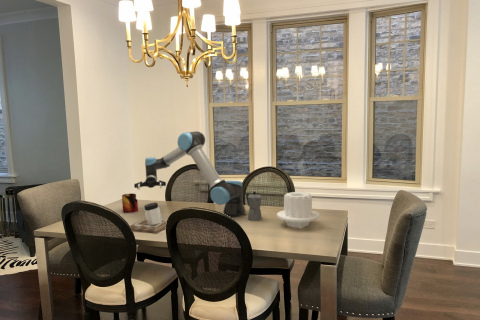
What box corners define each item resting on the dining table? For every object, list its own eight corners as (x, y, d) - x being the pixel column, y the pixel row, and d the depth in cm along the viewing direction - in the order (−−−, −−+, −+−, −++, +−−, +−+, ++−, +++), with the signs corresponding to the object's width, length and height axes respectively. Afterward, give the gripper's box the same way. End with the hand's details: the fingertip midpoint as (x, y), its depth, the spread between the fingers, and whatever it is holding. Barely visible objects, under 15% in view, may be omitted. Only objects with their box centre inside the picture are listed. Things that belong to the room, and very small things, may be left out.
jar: (145, 225, 232) (140, 206, 230) (154, 221, 239) (150, 202, 237) (155, 225, 227) (151, 206, 226) (164, 220, 234) (160, 202, 232)
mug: (137, 213, 266) (136, 196, 264) (120, 212, 269) (119, 196, 268) (144, 210, 275) (143, 193, 274) (127, 209, 279) (126, 193, 277)
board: (175, 222, 240) (175, 218, 240) (157, 233, 220) (156, 228, 219) (145, 220, 247) (145, 216, 247) (124, 230, 227) (124, 226, 227)
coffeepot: (266, 220, 242) (266, 192, 240) (254, 222, 237) (254, 194, 235) (252, 215, 255) (252, 188, 253) (241, 217, 250) (240, 190, 248)
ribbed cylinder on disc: (305, 234, 212) (305, 201, 210) (268, 226, 228) (268, 195, 226) (326, 223, 231) (326, 193, 228) (291, 217, 247) (291, 188, 245)
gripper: (169, 185, 265) (169, 191, 245) (132, 188, 261) (129, 194, 240) (169, 175, 264) (169, 179, 244) (132, 177, 260) (128, 182, 239)
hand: (149, 186), depth 242 cm, fingers open, 13 cm apart
